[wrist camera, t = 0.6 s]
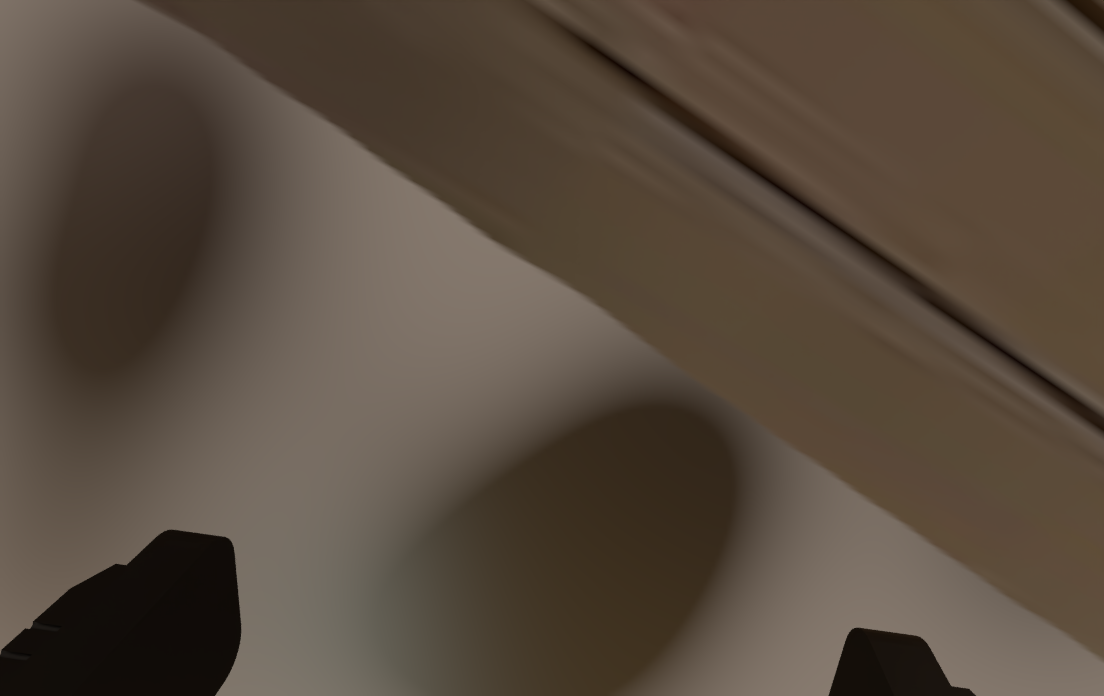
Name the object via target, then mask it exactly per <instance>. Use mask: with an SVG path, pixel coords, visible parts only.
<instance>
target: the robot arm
mask: <svg viewBox="0 0 1104 696" xmlns="http://www.w3.org/2000/svg"><path fill="white" fill-rule="evenodd" d="M240 639H241V618H240V607H239V597H238V585H237V575H236V564H235V553H234V547H233V545H232V542H231V541H230V540H229V539H228V538H226V537H222V536H214V535H207V534H200V533H193V532H186V531H179V530H167V531H164V532H163V533H161V534H160V535H158V536H157V537H156V538H155V539H154V540H153V541H152V542H151V543H150V544H149V545H148V546H146V547H145V548H144V549H143V550H142V551H141V552H140V553H139V554H138V555H137V556H136V557H135V558H134V559H133V560H132V561H131V562H129V563H128V564H127V565H120V564H115V565H113V566H111V567H109V568H107V569H106V570H104V571H102V572H100V573H98V574H96V575H94V576H93V577H91V578H89V579H87V580H85V581H84V582H82V583H80V584H78V585H76V586H74V587H72V588H71V589H69V590H68V591H67V592H66V593H65V594H64V595H62V596H61V597H60V598H59V599H58V600H57V601H56V602H55V603H53V604H52V605H51V606H50V607H49V608H48V609H47V610H46V611H45V612H44V613H42V614H41V615H40V616H39V617H38V618H37V619H35V620H34V621H33V625H32V627H31V628H30V629H24V630H23V631H22V632H21V633H20V634H19V635H18V636H16V637H15V638H14V639H13V640H12V641H11V642H10V643H9V644H7V645H6V646H5V647H4V648H3V649H2V651H1V654H0V696H215V695H216V693H217V692H218V691H219V689H220V688H221V686H222V685H223V683H224V682H225V680H226V678H227V677H228V675H229V673H230V671H231V669H232V667H233V664H234V662H235V659H236V656H237V653H238V649H239V645H240ZM829 696H976V695H975V694H973V693H972V691H970V689H966V688H959V687H952V686H951V685H950V683H949V682H948V680H947V678H946V677H945V674H944V673H943V671H942V669H941V667H940V665H939V664H938V662H937V660H936V658H935V656H934V654H933V653H932V651H931V649H930V647H929V646H928V644H927V643H926V642H925V641H924V640H923V639H922V638H921V637H918V636H914V635H907V634H899V633H893V632H885V631H878V630H871V629H864V628H854V629H852V630H851V631H850V632H849V634H848V636H847V638H846V641H845V644H844V647H843V651H842V654H841V657H840V660H839V664H838V667H837V670H836V674H835V677H834V680H833V683H832V686H831V689H830V693H829Z"/></svg>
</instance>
